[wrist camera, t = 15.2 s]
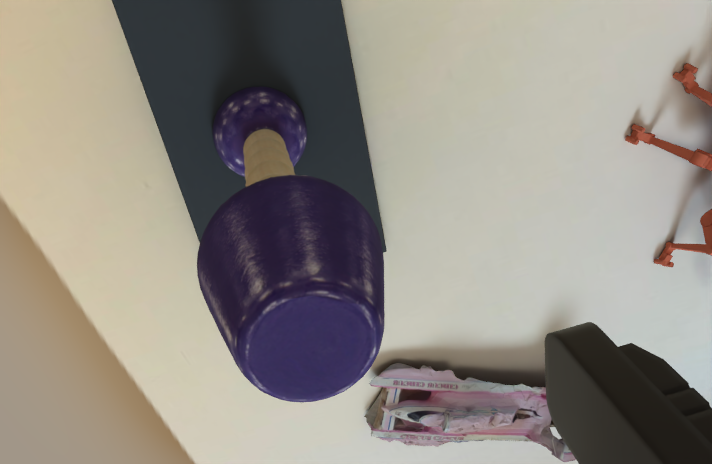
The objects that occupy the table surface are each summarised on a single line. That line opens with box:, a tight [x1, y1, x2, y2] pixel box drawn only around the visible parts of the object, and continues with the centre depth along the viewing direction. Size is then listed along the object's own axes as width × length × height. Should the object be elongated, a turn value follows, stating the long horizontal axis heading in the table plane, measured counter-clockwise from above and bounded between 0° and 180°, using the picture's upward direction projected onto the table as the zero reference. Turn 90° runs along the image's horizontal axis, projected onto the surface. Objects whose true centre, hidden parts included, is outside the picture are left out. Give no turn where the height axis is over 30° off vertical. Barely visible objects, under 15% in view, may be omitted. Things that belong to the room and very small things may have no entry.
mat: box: [112, 0, 386, 252], centre depth 26 cm, size 16×9×1 cm, turn 11°
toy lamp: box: [197, 86, 384, 402], centre depth 18 cm, size 5×5×17 cm
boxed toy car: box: [364, 363, 576, 462], centre depth 35 cm, size 13×6×4 cm, turn 82°
